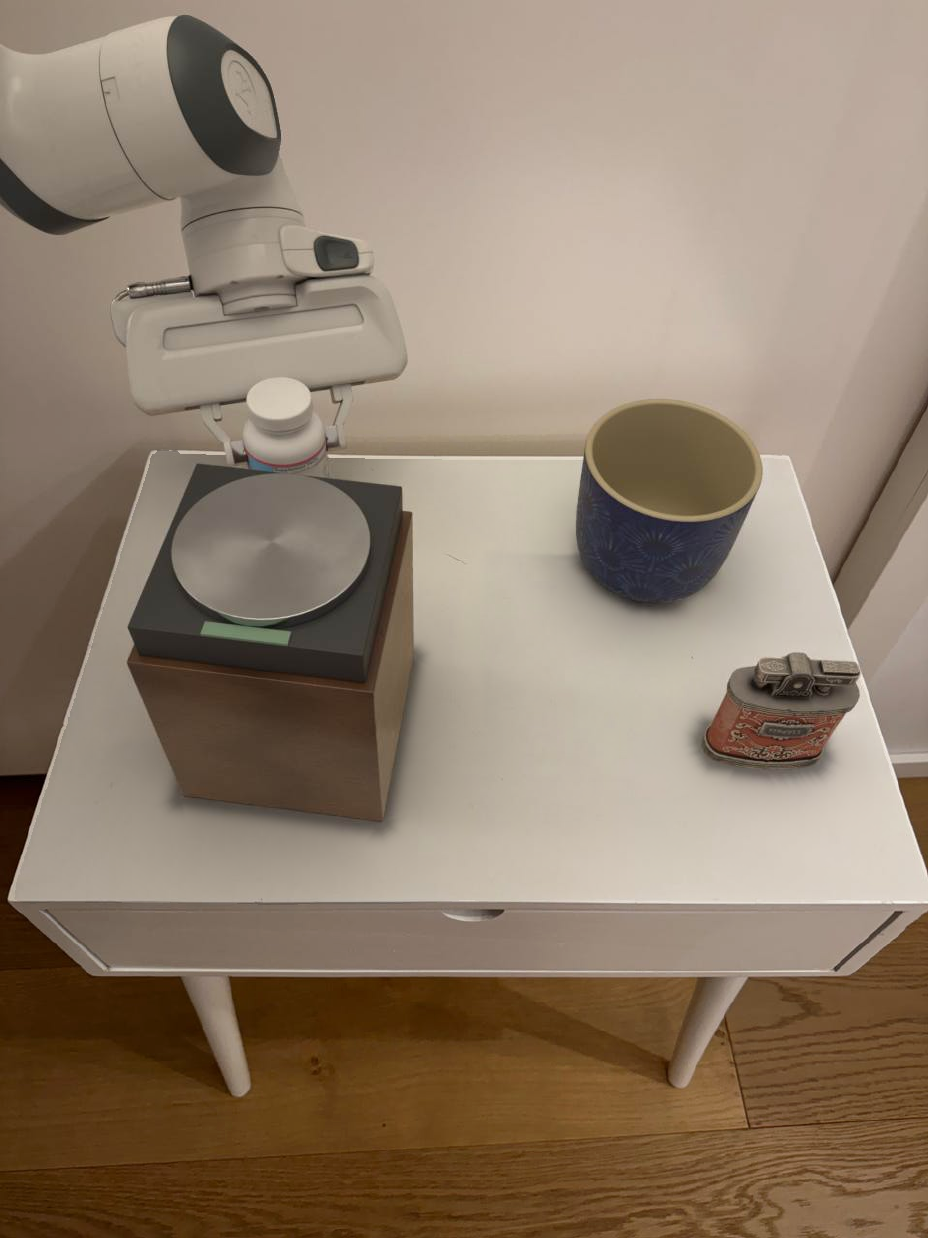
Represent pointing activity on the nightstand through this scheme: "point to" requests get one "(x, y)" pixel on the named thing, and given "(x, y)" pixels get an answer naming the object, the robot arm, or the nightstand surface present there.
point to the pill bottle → (284, 430)
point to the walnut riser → (289, 720)
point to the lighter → (781, 712)
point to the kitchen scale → (272, 573)
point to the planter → (663, 497)
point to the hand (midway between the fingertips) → (288, 457)
